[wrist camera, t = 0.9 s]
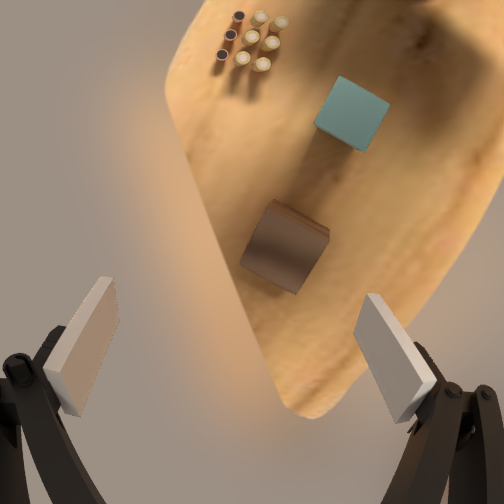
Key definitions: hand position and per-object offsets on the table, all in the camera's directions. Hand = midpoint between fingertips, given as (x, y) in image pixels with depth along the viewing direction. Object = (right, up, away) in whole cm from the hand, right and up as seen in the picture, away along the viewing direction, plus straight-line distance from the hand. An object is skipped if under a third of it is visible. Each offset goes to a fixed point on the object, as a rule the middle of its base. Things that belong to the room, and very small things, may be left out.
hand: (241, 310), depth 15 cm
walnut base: (+5, +5, +25) cm, 26 cm away
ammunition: (+1, +29, +17) cm, 33 cm away
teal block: (+12, +19, +18) cm, 28 cm away
